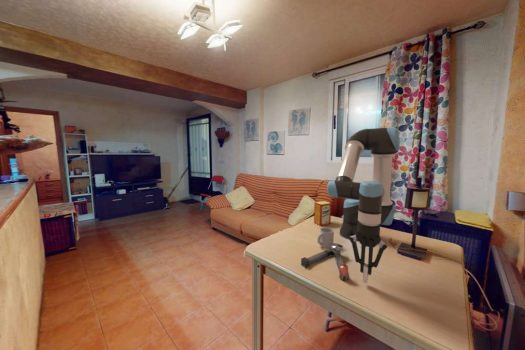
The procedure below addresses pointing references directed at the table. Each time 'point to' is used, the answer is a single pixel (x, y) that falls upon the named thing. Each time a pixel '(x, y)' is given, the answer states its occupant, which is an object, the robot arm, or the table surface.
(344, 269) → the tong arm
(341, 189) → the robot arm
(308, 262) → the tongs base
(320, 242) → the cup
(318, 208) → the baking soda box
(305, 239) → the table surface
